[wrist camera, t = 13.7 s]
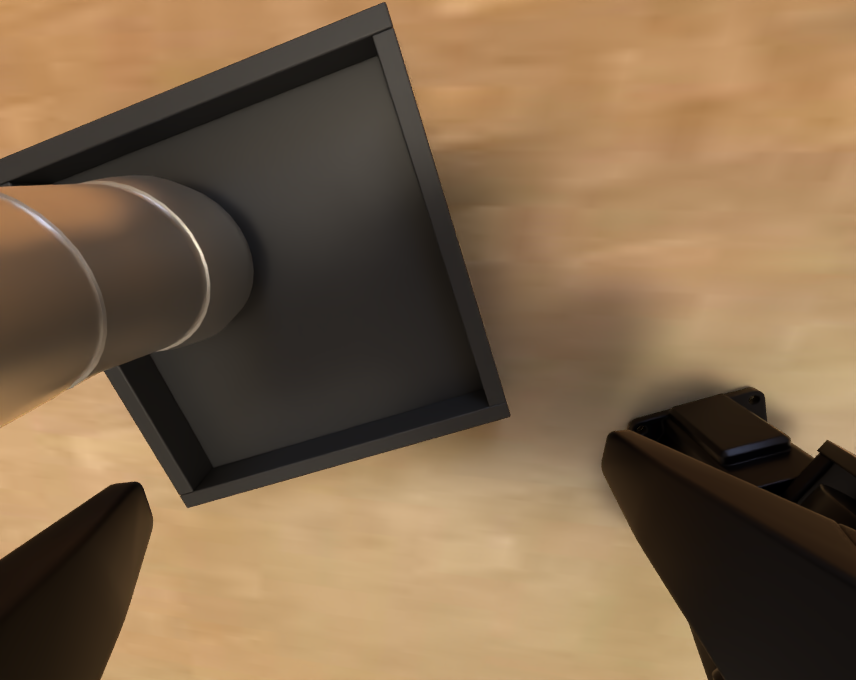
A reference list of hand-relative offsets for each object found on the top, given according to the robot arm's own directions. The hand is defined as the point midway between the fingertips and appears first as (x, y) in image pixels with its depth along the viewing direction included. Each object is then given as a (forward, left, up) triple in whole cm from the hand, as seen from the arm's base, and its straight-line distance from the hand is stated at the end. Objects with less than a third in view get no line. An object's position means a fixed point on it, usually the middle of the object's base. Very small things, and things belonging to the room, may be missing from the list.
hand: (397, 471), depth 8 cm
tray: (+3, +6, -13) cm, 14 cm away
